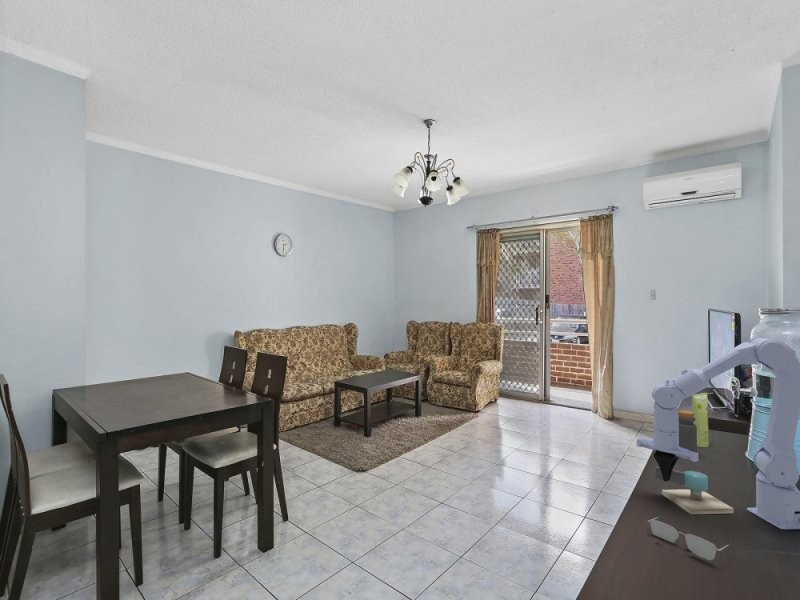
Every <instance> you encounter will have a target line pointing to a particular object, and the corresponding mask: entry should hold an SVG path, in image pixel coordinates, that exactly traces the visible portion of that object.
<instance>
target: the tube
mask: <svg viewBox="0 0 800 600" xmlns="http://www.w3.org/2000/svg"><path fill="white" fill-rule="evenodd" d="M708 404H709V403H708V392H702V393H695V394H693V395H691V406H692V407H691V411H692V412H694V413H695V414H694V418H695V421H694V422H693V423H694V424H695V425H696V426H697V447H700V448H708V447H709V446H710V445H709V409H708V407H709V405H708Z"/></svg>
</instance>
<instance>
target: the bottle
mask: <svg viewBox="0 0 800 600" xmlns="http://www.w3.org/2000/svg"><path fill="white" fill-rule="evenodd" d="M694 414H695V413H694V412H692V410H686V409H684V410H683V409H678V416H679V447H682V448H684V449H687V450H690V451H692V452H696V453H698V446H697V426H696V425H695V424H694V423H693V422H694V421H695V418H694Z"/></svg>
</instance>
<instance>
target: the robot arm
mask: <svg viewBox="0 0 800 600" xmlns="http://www.w3.org/2000/svg"><path fill="white" fill-rule="evenodd" d="M796 354H797V353H796V351H795V350H794V349H793V348H791V347H790V346H789V345H788V344H787V343H785V342H784V341H782V340H781V339H780V340H779V339H774V338H768V337H765V336H755V337H753V338H751V339H750V340H748V341H745V342H742V343H740V344H738V345H736V346H735V347H733V348H732V349H729V350H728V351H727V352H725V353H724V354H722V355H721V356H718V357H717V358H716V359H714V360H712V361H711V362H708V363H707V364H706V365H704V366H702V367H700V368H692V367H691V368H688V369H686V368H684V369H682V370H680V374H678V375H676V376H674V377H673V378H671V379H668V378H667V379H665V380H664V383H659V384H658V385H656V386H654V388H653V389H652V392H651V396H652V398H653V400H654V401H653V403H654V404H653V413H652V414H653V440H652V439H645V438H641V437H640V438H637V439H636V447H639V448H645V449H648V450H652V451H655V452H654V453H653V458H654V459H655V461H656V462H657V464H658V467H660V470H661V473H662V476H663V480H662V481H663V482H666V483H667V482H670V481H669V480H670V477H671V473H672V470H674V468H675V465H676V463H677V462H678V460H679V459H681V458H682V459H685V460H689V461H690V462H693V463H696V462H699V453H698V452H697V453H696V452H692V451H690V450H687V449H684V448H682V447H679V422H680V420H679V413H678V411H679V409H678V407H679V406H680V404H681V401H682V400H686V399H687V398H690V397H692V395H693V394H698V392H700V391H702V390H704V389H706V388H708V386H709V382H710V380H712V379H713V378H715V377H718V376H720V375H722V374H724V373H726V372H727V371H729V370H731V369H734V368H735V367H738V366H740V365H759V364H761V365H763V366H764V367H765V368H766V369H767V370H768V371H769V372H771V374H773V376H774V377H775V382H774V388H773V394H772V397H771V405H770V409H769V415H768V420H767V421H768V422H767V427H766V433H765V437H764V439H763V440H761V442H760V446H759V448H758V450H757V451H755V453H754V455H753V458H752V460H753V464H754V465H755V467H757V469H758V472H757V474H755V479H756V480H755V491H756V492H755V494H756V495H755V496H756V498H755V500H756V501H755V502H756V503H755V504H756V505H755V507H746V511H748V512H750V513H752V514H754V515H755V516H757V517H759V518H760V519H762V520H763V521H766V522H767V523H770V524H771V525H773V526H775V527H777V528H778V529H780V530H800V490H799V489H798V488H797V486H796V484H797V483H798V482H799V480H800V473H799V470H798V467H797V459H798V458H797V455H796V451H795V448H794V444H795V439H796V435H797V429H798V423H799V417H800V361H799V359H798V358H797V356H796Z"/></svg>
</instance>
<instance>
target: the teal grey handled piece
mask: <svg viewBox="0 0 800 600" xmlns="http://www.w3.org/2000/svg"><path fill="white" fill-rule="evenodd" d="M656 479H657V480H661V481H663V476H662V473H661V470H660V467H659V465H658V466H655V480H656ZM708 479H709V478H708V475H706V474H704V473H702V472H699V471H696V470H695V471H694V470H686V471H681V470H677V469H673V470H672V473H671V477H670V480H669V481H668V482H670V483H673V484H679V485H684V486H685V488H687V489H692V490H696V491H705V492H707V491H708V490H709V489H708V487H709V485H708V484H709V483H708V482H709V481H708Z"/></svg>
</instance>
